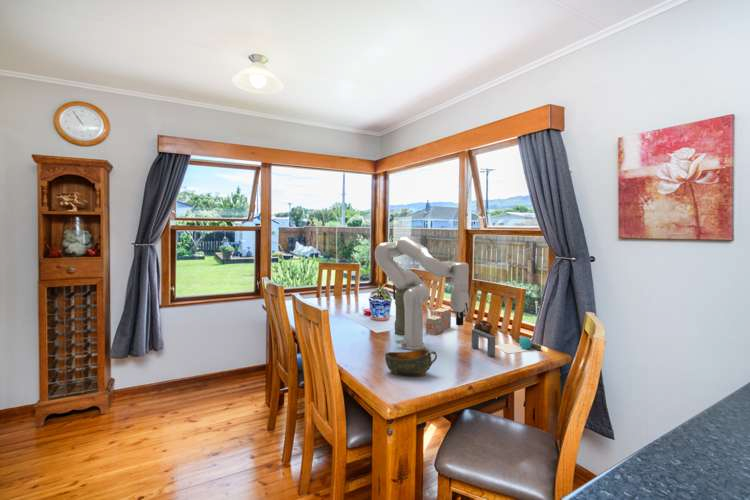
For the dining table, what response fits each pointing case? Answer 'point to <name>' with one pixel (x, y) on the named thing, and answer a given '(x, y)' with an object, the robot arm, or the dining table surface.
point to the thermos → (399, 311)
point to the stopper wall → (533, 345)
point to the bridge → (490, 342)
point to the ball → (525, 343)
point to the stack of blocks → (438, 321)
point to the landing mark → (510, 348)
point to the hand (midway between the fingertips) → (459, 324)
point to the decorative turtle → (483, 326)
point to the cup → (409, 362)
